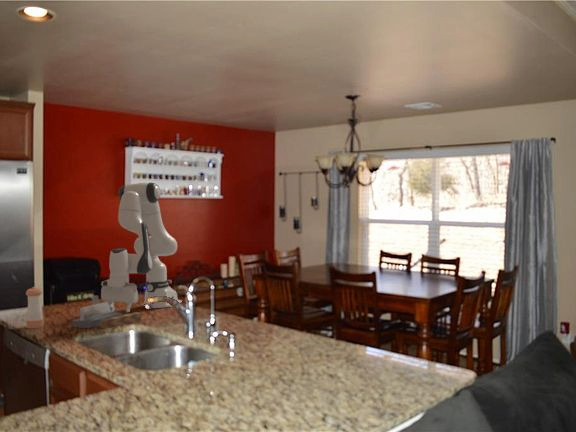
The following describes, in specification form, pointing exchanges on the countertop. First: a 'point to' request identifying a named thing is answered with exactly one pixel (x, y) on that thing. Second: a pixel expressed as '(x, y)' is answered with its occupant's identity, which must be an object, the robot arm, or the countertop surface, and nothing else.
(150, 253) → the robot arm
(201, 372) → the countertop surface
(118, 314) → the ridge stand
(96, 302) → the flask
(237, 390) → the countertop surface
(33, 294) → the pepper shaker
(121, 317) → the walnut rod
